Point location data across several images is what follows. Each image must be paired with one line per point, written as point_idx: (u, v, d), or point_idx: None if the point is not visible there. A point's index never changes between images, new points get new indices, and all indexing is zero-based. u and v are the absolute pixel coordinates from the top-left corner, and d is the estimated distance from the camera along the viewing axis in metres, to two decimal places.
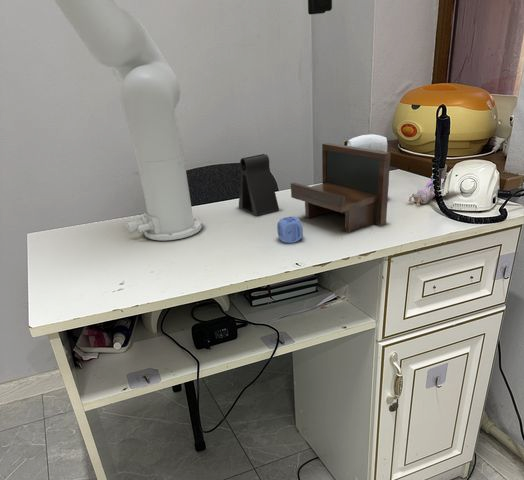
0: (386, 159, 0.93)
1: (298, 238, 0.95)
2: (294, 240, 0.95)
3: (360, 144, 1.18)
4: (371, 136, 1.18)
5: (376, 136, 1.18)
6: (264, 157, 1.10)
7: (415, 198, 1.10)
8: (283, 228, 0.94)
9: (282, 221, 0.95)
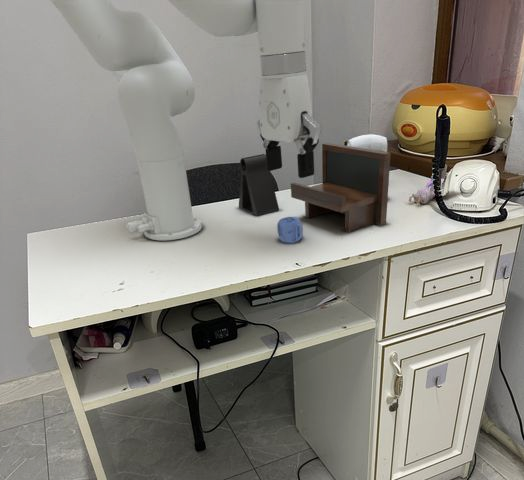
0: (386, 159, 0.93)
1: (298, 238, 0.95)
2: (294, 240, 0.95)
3: (360, 144, 1.18)
4: (371, 136, 1.18)
5: (376, 136, 1.18)
6: (264, 157, 1.10)
7: (415, 198, 1.10)
8: (283, 228, 0.94)
9: (282, 221, 0.95)
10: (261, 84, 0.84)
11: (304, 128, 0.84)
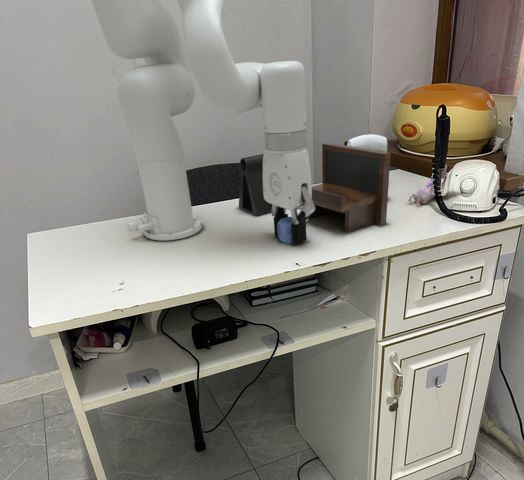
0: (386, 159, 0.93)
1: None
2: None
3: (360, 144, 1.18)
4: (371, 136, 1.18)
5: (376, 136, 1.18)
6: None
7: (415, 198, 1.10)
8: (283, 228, 0.94)
9: (282, 221, 0.95)
10: (265, 155, 0.90)
11: None
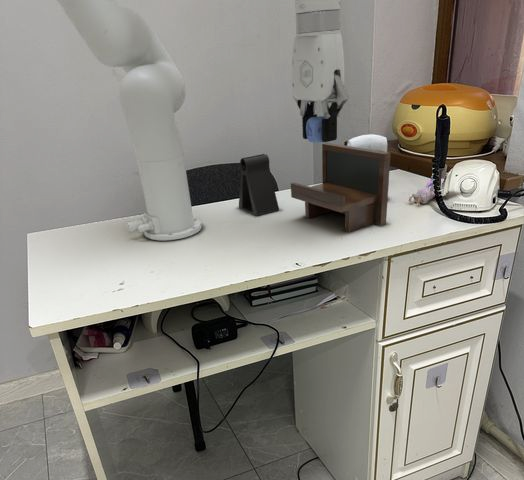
0: (386, 159, 0.93)
1: None
2: None
3: (360, 144, 1.18)
4: (371, 136, 1.18)
5: (376, 136, 1.18)
6: (264, 157, 1.10)
7: (415, 198, 1.10)
8: (313, 125, 0.90)
9: (312, 118, 0.90)
10: (295, 43, 0.86)
11: None
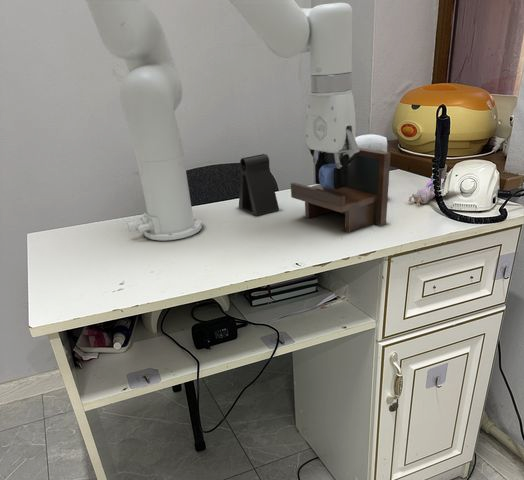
0: (386, 159, 0.93)
1: None
2: None
3: (360, 144, 1.18)
4: (371, 136, 1.18)
5: (376, 136, 1.18)
6: (264, 157, 1.10)
7: (415, 198, 1.10)
8: (326, 173, 0.97)
9: (324, 167, 0.97)
10: (309, 100, 0.93)
11: None
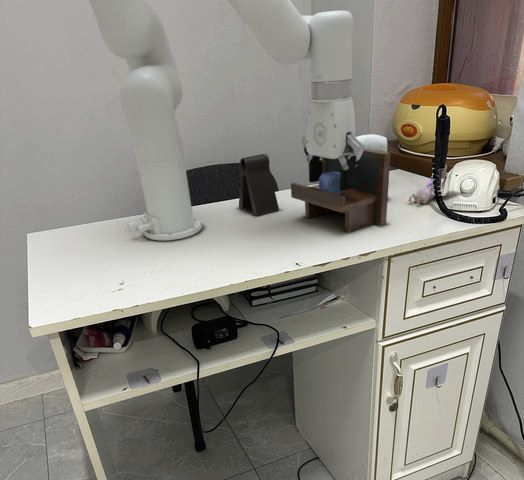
0: (386, 159, 0.93)
1: (339, 191, 0.99)
2: None
3: None
4: (371, 136, 1.18)
5: (376, 136, 1.18)
6: (264, 157, 1.10)
7: (415, 198, 1.10)
8: (326, 181, 0.97)
9: (324, 175, 0.98)
10: (310, 106, 0.93)
11: (347, 146, 0.94)
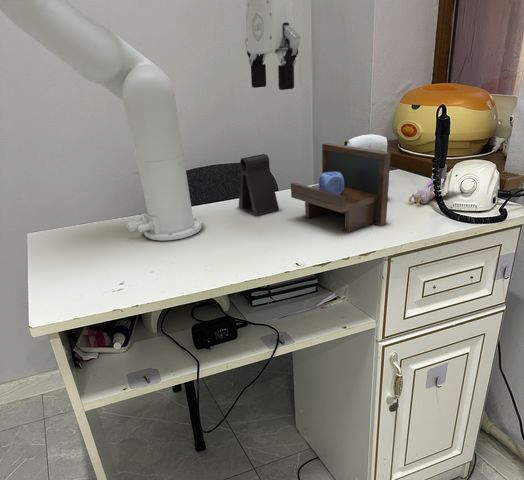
0: (386, 159, 0.93)
1: (339, 191, 0.99)
2: None
3: (360, 144, 1.18)
4: (371, 136, 1.18)
5: (376, 136, 1.18)
6: (264, 157, 1.10)
7: (415, 198, 1.10)
8: (326, 181, 0.97)
9: (324, 175, 0.98)
10: None
11: (286, 41, 0.90)
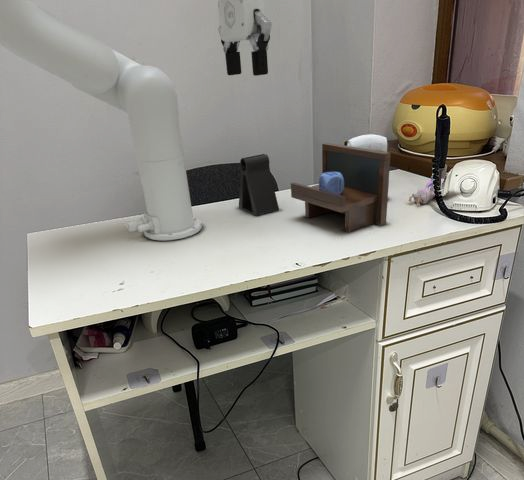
0: (386, 159, 0.93)
1: (339, 191, 0.99)
2: None
3: (360, 144, 1.18)
4: (371, 136, 1.18)
5: (376, 136, 1.18)
6: (264, 157, 1.10)
7: (415, 198, 1.10)
8: (326, 181, 0.97)
9: (324, 175, 0.98)
10: None
11: (258, 27, 0.92)
